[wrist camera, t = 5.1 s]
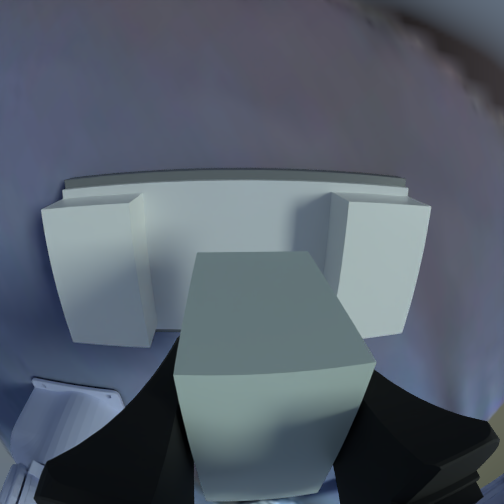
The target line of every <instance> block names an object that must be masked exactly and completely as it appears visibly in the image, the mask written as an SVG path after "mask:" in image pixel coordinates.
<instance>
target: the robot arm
mask: <svg viewBox="0 0 504 504" xmlns="http://www.w3.org/2000/svg"><path fill="white" fill-rule="evenodd" d="M179 339H180V336H179V337H178V338H177V339H176V341H175V343H174V345H173V346H172V348H171V350H170V351H169V353H168V355H167V356H166V358H165V359H164V361H163V362H162V363H161V365H160V366H159V368H158V369H157V371H156V372H155V373H154V375H153V376H152V377H151V379H150V380H149V381H148V382H147V383H146V385H145V386H144V387H143V388H142V390H141V391H140V392H139V393H138V394H137V395H136V397H135V398H134V399H133V400H132V401H131V402H130V403H129V404H128V405H127V406H126V407H125V406H124V404H123V401H122V399H121V396H120V394H119V393H118V392H117V391H114V390H107V389H98V388H91V387H84V386H77V385H71V384H65V383H59V382H54V381H49V380H43V379H39V378H33V379H32V383H33V385H34V387H35V388H34V390H33V391H32V393H31V395H30V397H29V399H28V400H27V402H26V404H25V406H24V408H23V410H22V412H21V414H20V416H19V418H18V420H17V422H16V423H15V426H14V428H13V430H12V434H11V452H12V456H13V458H14V460H15V462H16V464H13V465H12V466H11V468H10V470H9V473H8V475H7V477H6V480H5V482H4V485H3V487H2V490H1V493H0V504H194V459H193V456H192V452H191V449H190V445H189V441H188V437H187V433H186V429H185V425H184V421H183V417H182V413H181V408H180V404H179V400H178V395H177V390H176V386H175V381H174V376H173V374H174V367H175V362H176V356H177V350H178V344H179ZM499 441H500V439H499V438H498V436H497V435H496V433H495V432H494V430H493V429H492V427H491V426H490V424H489V423H488V422H487V421H483V420H479V419H475V418H470V417H466V416H462V415H459V414H456V413H453V412H450V411H448V410H445V409H442V408H440V407H437V406H435V405H433V404H430V403H428V402H426V401H424V400H422V399H420V398H418V397H416V396H414V395H412V394H410V393H409V392H407V391H405V390H404V389H402V388H400V387H399V386H397V385H395V384H394V383H392V382H391V381H389V380H388V379H386V378H385V377H384V376H382V375H381V374H380V373H378V372H377V371H375V370H373V373H372V376H371V378H370V381H369V384H368V386H367V389H366V392H365V394H364V397H363V399H362V402H361V404H360V407H359V409H358V411H357V414H356V416H355V418H354V421H353V423H352V425H351V428H350V430H349V432H348V434H347V436H346V439H345V441H344V443H343V445H342V447H341V449H340V451H339V453H338V455H337V457H336V459H335V461H334V463H333V467H334V471H335V476H336V482H337V487H338V493H339V499H340V504H504V474H502V475H501V476H499V477H498V478H497V479H495V480H494V481H492V482H491V483H489V484H488V485H486V486H484V487H483V488H481V489H480V488H479V486H478V485H477V483H476V481H477V480H479V478H480V476H479V474H478V473H477V471H476V470H477V469H478V468H479V467H480V466H481V465H482V464H483V463H484V462H485V461H486V460H487V459H488V458H489V457H490V456H491V455H492V454H493V452H494V451H495V450H496V448H497V447H498V445H499Z"/></svg>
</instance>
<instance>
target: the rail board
mask: <svg viewBox="0 0 504 504" xmlns="http://www.w3.org/2000/svg"><path fill="white" fill-rule="evenodd" d="M405 182H406V179H404V178H401V177H398V176H389V175H379V174H368V173H356V172H342V171H326V170H306V169H277V168H203V169H174V170H154V171H138V172H125V173H113V174H102V175H92V176H83V177H74V178H70V179H67V180H65V189H64V190H62V192H63V199H62V200H59V201H57V202H55V203H53V204H51V205H49V206H47V207H45V208H43V209H41V213H42V220H43V226H44V232H45V238H46V243H47V248H48V253H49V258H50V262H51V267H52V271H53V275H54V279H55V283H56V287H57V291H58V295H59V298H60V302H61V305H62V309H63V312H64V315H65V319H66V322H67V325H68V328H69V331H70V334H71V337H72V340H73V342H76V343H86V344H98V345H111V346H127V347H147V348H150V347H151V344H152V340H153V337H154V334H155V332H181V328H182V323H183V317H184V312H185V307H186V302H187V297H188V292H189V287H190V282H191V277H192V273H193V268H194V263H195V259H196V254H197V252H284V251H308V252H309V254H310V255H311V257H312V258H313V260H314V261H315V263H316V265H317V266H318V268H319V269H320V271H321V272H322V274H323V275H324V277H325V279H326V280H327V282H328V283H329V285H330V286H331V288H332V290H333V291H334V293H335V294H336V296H337V298H338V299H339V301H340V302H341V304H342V306H343V307H344V309H345V310H346V312H347V314H348V315H349V317H350V319H351V320H352V322H353V324H354V325H355V327H356V328H357V330H358V332H359V333H360V335H361V337H362V338H371V337H378V336H385V335H392V334H399V333H402V331H403V328H404V325H405V321H406V318H407V315H408V311H409V308H410V304H411V301H412V297H413V293H414V289H415V285H416V281H417V277H418V273H419V269H420V264H421V260H422V255H423V250H424V245H425V240H426V235H427V229H428V223H429V217H430V211H431V206H429V205H427V204H424V203H422V202H420V201H417V200H415V199H413V198H410V197H408V188H406V187H405Z"/></svg>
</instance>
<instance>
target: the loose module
mask: <svg viewBox="0 0 504 504" xmlns="http://www.w3.org/2000/svg"><path fill="white" fill-rule="evenodd" d="M375 365H376V360H375V359H374V357H373V355H372V354H371V352H370V350H369V349H368V347H367V345H366V343H365V342H364V340H363V338H362V337H361V335H360V333H359V332H358V330H357V328H356V327H355V325H354V324H353V322H352V320H351V319H350V317H349V315H348V314H347V312H346V310H345V309H344V307H343V306H342V304H341V302H340V301H339V299H338V298H337V296H336V294H335V293H334V291H333V290H332V288H331V286H330V285H329V283H328V282H327V280H326V279H325V277H324V275H323V274H322V272H321V271H320V269H319V268H318V266H317V265H316V263H315V261H314V260H313V258H312V257H311V255H310V254H309V252H308V251H284V252H197V254H196V259H195V263H194V268H193V273H192V277H191V282H190V287H189V292H188V297H187V302H186V307H185V312H184V317H183V323H182V328H181V333H180V339H179V344H178V350H177V356H176V362H175V367H174V374H173V376H174V381H175V386H176V390H177V395H178V400H179V404H180V408H181V413H182V417H183V421H184V425H185V429H186V433H187V437H188V441H189V445H190V449H191V452H192V456H193V459H194V463H195V467H196V470H197V473H198V477H199V480H200V483H201V487H202V490H203V493H204V496H205V499H206V501H248V500H264V499H275V498H284V497H292V496H300V495H306V494H313V493H318V491H319V489H320V487H321V486H322V484H323V482H324V480H325V478H326V476H327V475H328V473H329V471H330V469H331V467H332V465H333V463H334V461H335V459H336V457H337V455H338V453H339V451H340V449H341V447H342V445H343V443H344V441H345V439H346V436H347V434H348V432H349V430H350V428H351V425H352V423H353V421H354V418H355V416H356V414H357V411H358V409H359V407H360V404H361V402H362V399H363V397H364V394H365V392H366V389H367V386H368V384H369V381H370V378H371V376H372V373H373V370H374V367H375Z"/></svg>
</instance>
